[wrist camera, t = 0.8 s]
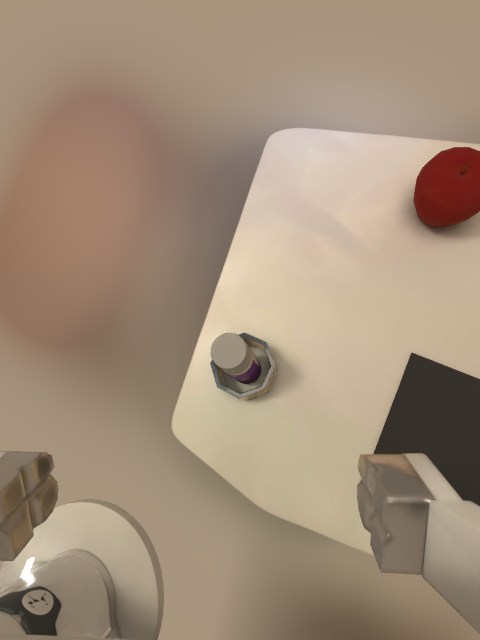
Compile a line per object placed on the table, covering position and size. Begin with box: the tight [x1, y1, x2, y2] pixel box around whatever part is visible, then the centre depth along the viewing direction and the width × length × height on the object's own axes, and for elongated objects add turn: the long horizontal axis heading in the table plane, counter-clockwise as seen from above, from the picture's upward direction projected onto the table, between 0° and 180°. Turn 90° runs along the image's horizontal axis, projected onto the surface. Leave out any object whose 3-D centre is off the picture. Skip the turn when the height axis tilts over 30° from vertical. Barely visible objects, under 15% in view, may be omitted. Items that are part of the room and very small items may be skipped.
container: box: [211, 333, 261, 384], centre depth 47 cm, size 5×5×15 cm
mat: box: [374, 353, 480, 506], centre depth 46 cm, size 22×14×1 cm, turn 153°
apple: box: [414, 147, 480, 227], centre depth 50 cm, size 11×11×12 cm
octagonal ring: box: [210, 333, 277, 400], centre depth 51 cm, size 9×9×5 cm
